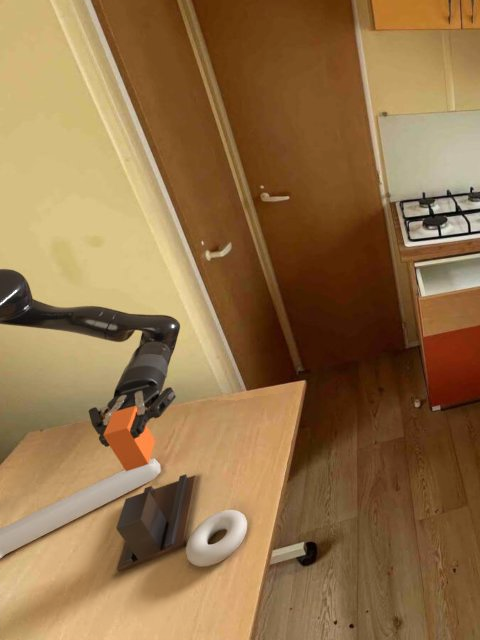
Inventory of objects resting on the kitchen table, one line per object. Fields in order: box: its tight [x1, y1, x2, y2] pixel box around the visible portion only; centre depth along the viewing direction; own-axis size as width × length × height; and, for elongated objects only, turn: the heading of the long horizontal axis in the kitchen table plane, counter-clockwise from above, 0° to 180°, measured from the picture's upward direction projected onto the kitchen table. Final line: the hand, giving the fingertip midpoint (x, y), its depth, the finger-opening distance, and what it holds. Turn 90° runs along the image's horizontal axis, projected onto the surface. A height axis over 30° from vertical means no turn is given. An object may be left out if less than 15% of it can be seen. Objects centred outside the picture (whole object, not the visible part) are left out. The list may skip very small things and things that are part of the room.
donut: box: [185, 509, 248, 568], centre depth 81 cm, size 10×3×10 cm
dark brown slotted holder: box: [115, 473, 198, 574], centre depth 83 cm, size 10×16×11 cm, turn 27°
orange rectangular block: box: [103, 406, 156, 471], centre depth 81 cm, size 4×6×10 cm, turn 27°
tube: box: [0, 457, 162, 559], centre depth 87 cm, size 5×5×25 cm
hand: (120, 438), depth 77 cm, fingers closed on orange rectangular block, 3 cm apart
